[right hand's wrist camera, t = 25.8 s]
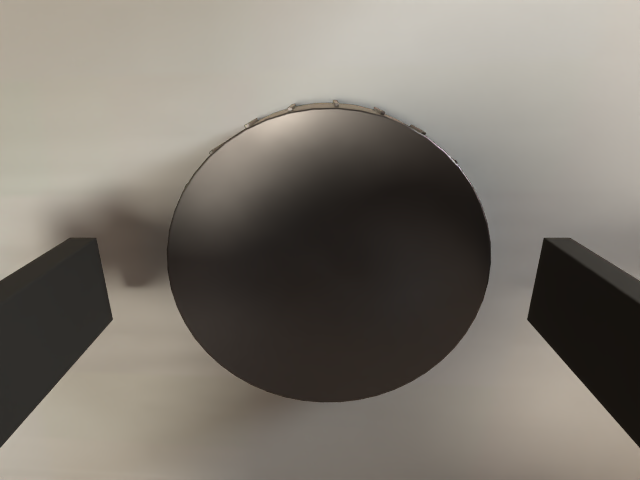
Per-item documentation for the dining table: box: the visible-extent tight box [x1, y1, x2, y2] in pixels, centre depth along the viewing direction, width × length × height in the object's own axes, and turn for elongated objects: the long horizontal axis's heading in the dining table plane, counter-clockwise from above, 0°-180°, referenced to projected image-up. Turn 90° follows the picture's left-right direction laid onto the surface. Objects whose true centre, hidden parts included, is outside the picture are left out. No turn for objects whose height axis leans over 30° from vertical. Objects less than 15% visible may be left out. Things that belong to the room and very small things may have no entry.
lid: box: [167, 100, 491, 402], centre depth 13 cm, size 9×9×2 cm
